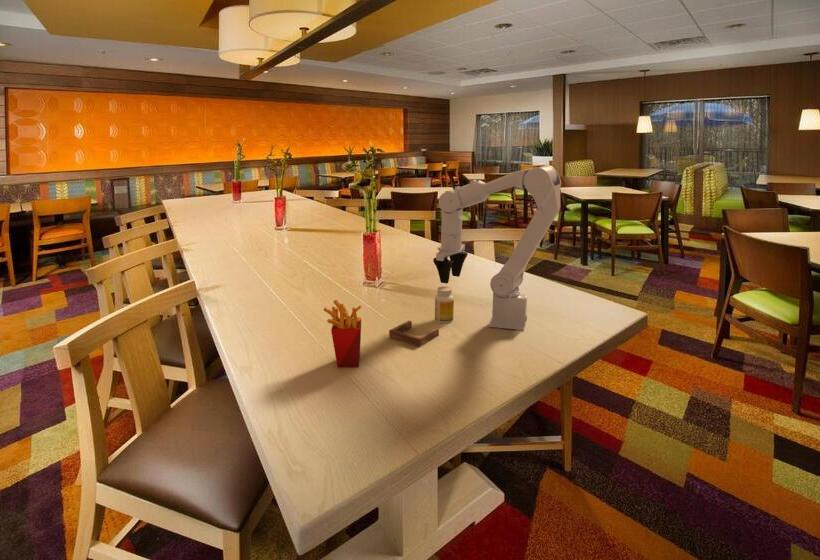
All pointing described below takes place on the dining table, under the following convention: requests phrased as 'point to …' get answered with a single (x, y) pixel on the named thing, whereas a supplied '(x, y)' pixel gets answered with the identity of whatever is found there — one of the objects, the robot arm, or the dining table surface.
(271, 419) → the dining table surface
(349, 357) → the french fries
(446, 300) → the supplement bottle
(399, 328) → the brown wooden u-shaped frame
